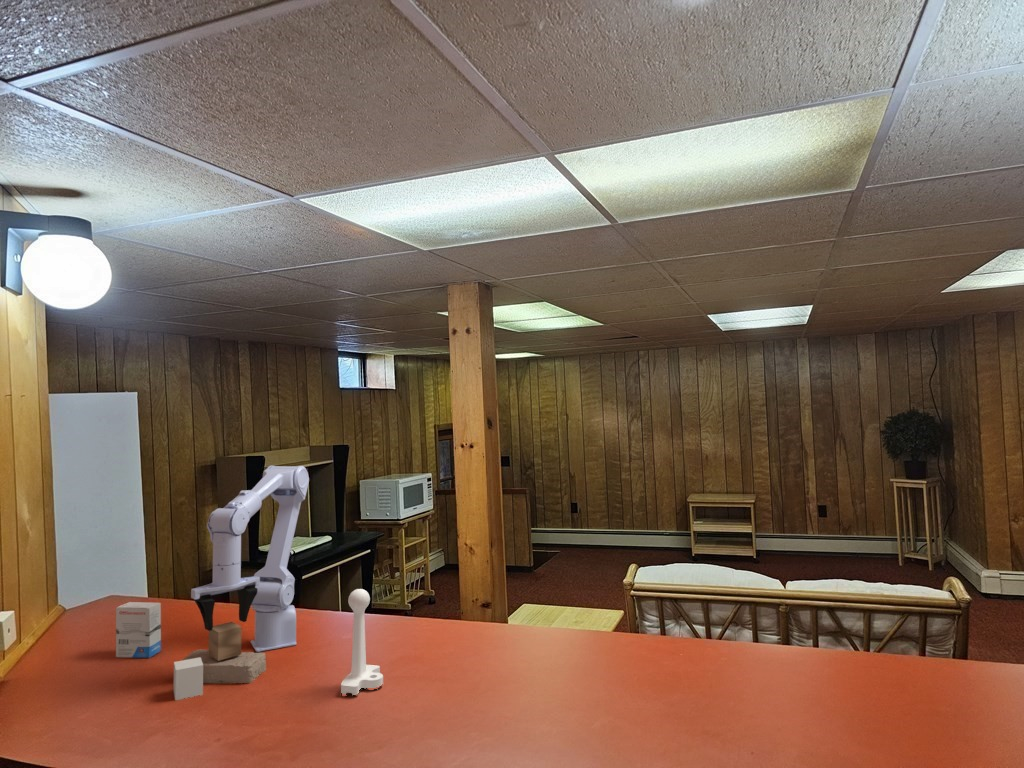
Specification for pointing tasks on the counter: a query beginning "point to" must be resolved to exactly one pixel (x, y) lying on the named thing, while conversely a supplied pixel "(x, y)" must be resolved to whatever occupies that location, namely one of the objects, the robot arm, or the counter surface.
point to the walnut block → (225, 641)
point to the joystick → (360, 650)
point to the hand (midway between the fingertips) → (226, 625)
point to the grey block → (188, 678)
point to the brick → (230, 667)
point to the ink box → (138, 629)
